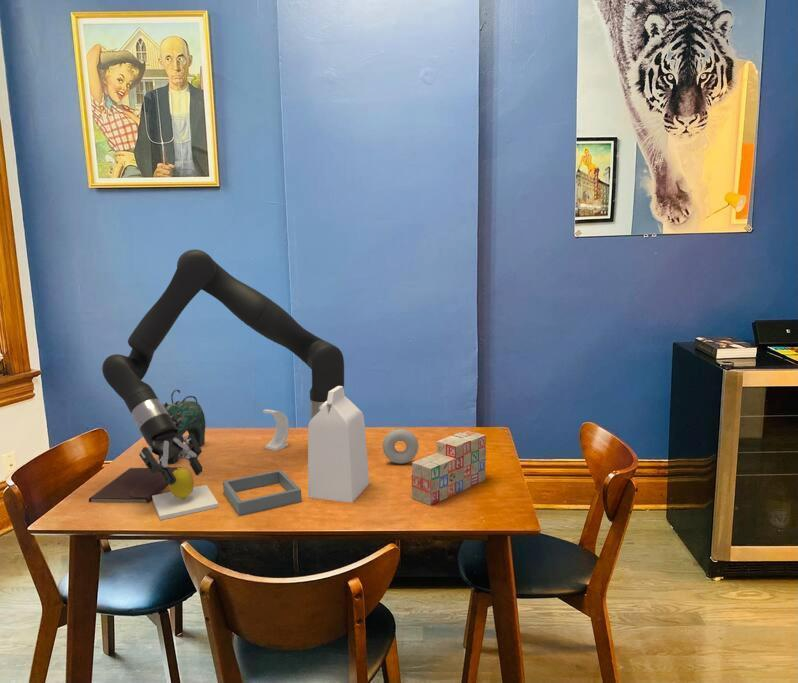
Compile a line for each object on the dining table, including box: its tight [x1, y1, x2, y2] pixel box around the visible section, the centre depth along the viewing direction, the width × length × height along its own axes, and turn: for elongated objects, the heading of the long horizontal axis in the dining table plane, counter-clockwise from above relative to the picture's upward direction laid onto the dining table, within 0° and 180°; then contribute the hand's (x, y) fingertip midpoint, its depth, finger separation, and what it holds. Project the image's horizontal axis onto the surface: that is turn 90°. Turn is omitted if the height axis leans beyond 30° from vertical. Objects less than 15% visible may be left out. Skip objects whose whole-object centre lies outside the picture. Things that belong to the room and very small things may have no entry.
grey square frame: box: [222, 469, 303, 517], centre depth 149 cm, size 15×15×3 cm
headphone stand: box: [262, 409, 290, 452], centre depth 185 cm, size 5×6×12 cm
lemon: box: [168, 467, 195, 499], centre depth 145 cm, size 6×6×8 cm
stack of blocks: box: [411, 430, 487, 506], centre depth 151 cm, size 21×6×12 cm, turn 136°
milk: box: [307, 386, 370, 503], centre depth 151 cm, size 12×12×26 cm
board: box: [151, 484, 220, 521], centre depth 146 cm, size 13×13×1 cm
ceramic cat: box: [162, 389, 206, 465], centre depth 180 cm, size 20×6×20 cm, turn 166°
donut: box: [382, 428, 419, 465], centre depth 169 cm, size 10×4×10 cm, turn 88°
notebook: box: [88, 466, 182, 504], centre depth 157 cm, size 15×20×2 cm
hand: (186, 477), depth 144 cm, fingers open, 6 cm apart
